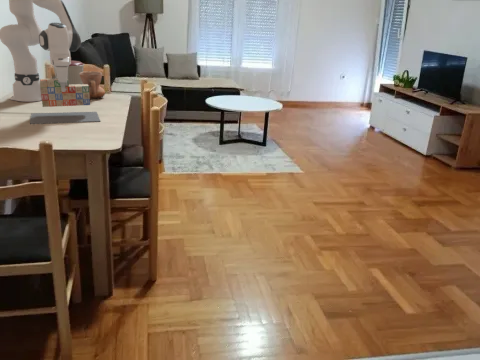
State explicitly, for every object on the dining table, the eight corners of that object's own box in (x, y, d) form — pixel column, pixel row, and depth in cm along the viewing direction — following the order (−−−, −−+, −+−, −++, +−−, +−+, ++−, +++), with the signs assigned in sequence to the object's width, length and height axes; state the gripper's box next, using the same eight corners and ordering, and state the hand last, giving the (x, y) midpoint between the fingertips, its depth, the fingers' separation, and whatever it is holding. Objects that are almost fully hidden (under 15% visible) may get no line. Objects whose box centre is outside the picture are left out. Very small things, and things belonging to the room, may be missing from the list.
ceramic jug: (78, 95, 269) (76, 70, 264) (104, 94, 274) (102, 70, 269) (80, 101, 254) (78, 75, 248) (107, 101, 259) (105, 75, 253)
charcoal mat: (31, 114, 220) (31, 113, 219) (96, 112, 230) (96, 111, 230) (29, 124, 202) (29, 123, 202) (100, 121, 213) (100, 120, 213)
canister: (75, 88, 289) (73, 53, 281) (92, 92, 278) (90, 57, 271) (48, 91, 275) (45, 55, 268) (65, 95, 265) (62, 58, 258)
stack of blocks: (89, 103, 225) (87, 77, 221) (90, 105, 220) (88, 79, 216) (42, 104, 218) (39, 78, 214) (42, 107, 213) (39, 80, 208)
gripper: (53, 57, 219) (55, 86, 224) (53, 62, 202) (56, 94, 206) (67, 57, 222) (69, 86, 226) (68, 62, 204) (71, 93, 209)
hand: (63, 90), depth 216 cm, fingers closed on stack of blocks, 6 cm apart
